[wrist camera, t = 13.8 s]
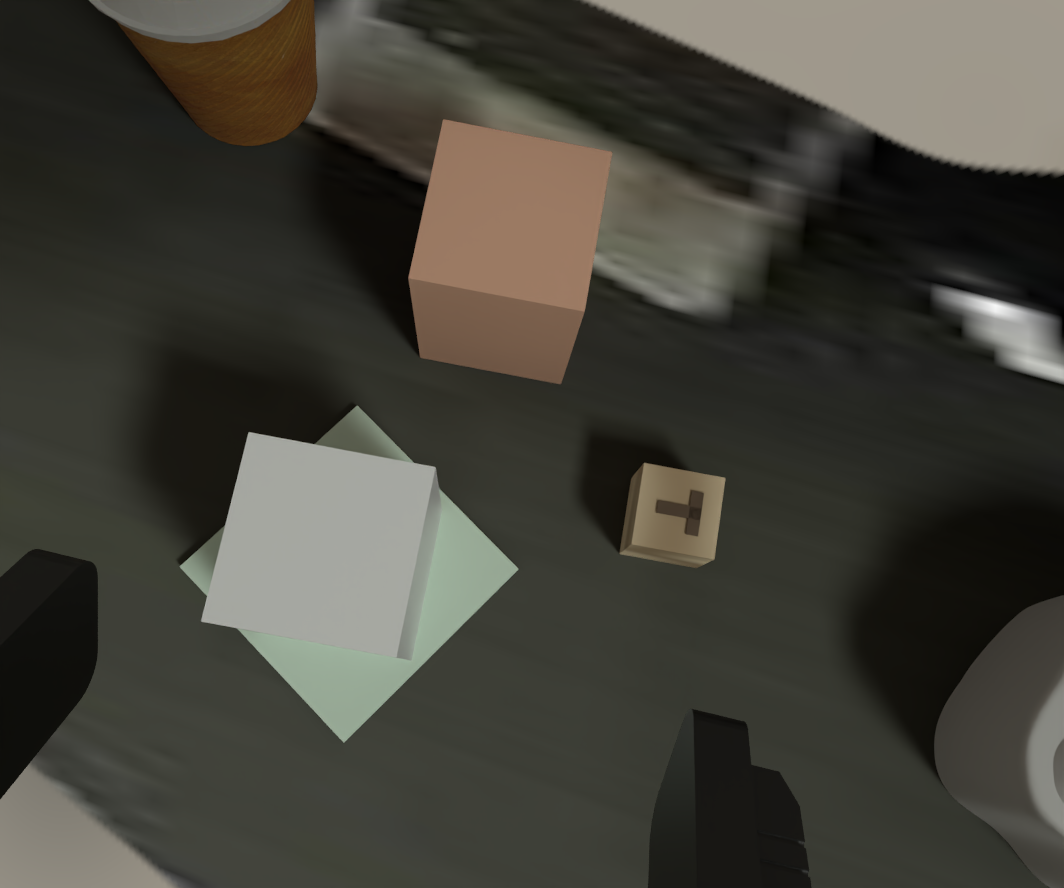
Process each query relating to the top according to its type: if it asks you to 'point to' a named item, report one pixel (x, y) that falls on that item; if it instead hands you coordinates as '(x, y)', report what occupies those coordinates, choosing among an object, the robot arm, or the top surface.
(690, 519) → the letter cube
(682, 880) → the robot arm
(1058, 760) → the lumpy-topped squat cylinder
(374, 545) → the light grey rectangular block
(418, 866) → the top surface
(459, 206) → the salmon brown rectangular block
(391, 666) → the green mat
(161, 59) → the disposable coffee cup
